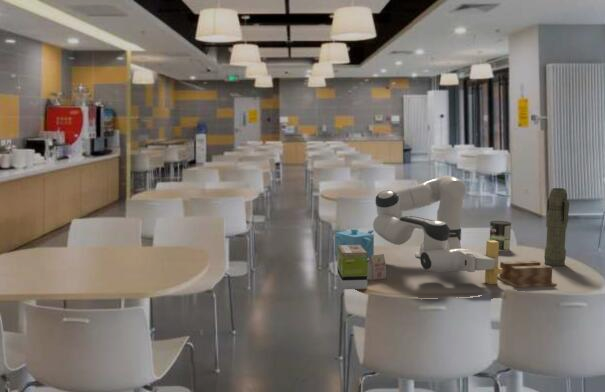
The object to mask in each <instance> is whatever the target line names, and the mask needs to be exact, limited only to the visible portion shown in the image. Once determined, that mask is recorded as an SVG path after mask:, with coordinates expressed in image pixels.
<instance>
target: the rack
mask: <svg viewBox="0 0 605 392" xmlns="http://www.w3.org/2000/svg"><path fill="white" fill-rule="evenodd" d="M499 262H500V265H499V266H500V268H502V269H503V272H502V274H498V276H497V280H499V281H502V282H503V283H506V284H507V285H509V286H512V287H514V288H529V287H551V286H552V287H553V286H558V284H557V282H554V281H552V280H553V266H549V265H546V264H544V265H543V264H542V265H541V262H540V261H538V260H522V261H517V260H516V261H499Z"/></svg>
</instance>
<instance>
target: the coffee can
mask: <svg viewBox="0 0 605 392" xmlns="http://www.w3.org/2000/svg"><path fill="white" fill-rule="evenodd" d="M489 223H490V224H489V225H490V226H489V241H493V240H495V241H497V242H499V252H508V251H509V252H510V249H511V248H510V246H511V231H512V230H511V229H512V228H511V227H512V222H510V221H505V220H491V221H490V222H489Z"/></svg>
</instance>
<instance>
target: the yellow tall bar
mask: <svg viewBox="0 0 605 392" xmlns="http://www.w3.org/2000/svg"><path fill="white" fill-rule="evenodd" d="M485 245H486V247H485V249H486V251H485V255H486V256H487V257H490V258H492V257H496V258H498V259H499V252H500V251H499V242H497V241H495V240H493V241H490V240H486V244H485ZM484 271H485V272H484V273H485V274H484V282H485V284H486V283H487V284H488V285H495V284H496V285H497V284H498V279H497V276H498V275H500V274H502V272H503V269H502V268H500V267H499V261H498V262H495V267H494V268H493V269H489V270H484Z"/></svg>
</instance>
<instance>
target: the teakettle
mask: <svg viewBox="0 0 605 392" xmlns="http://www.w3.org/2000/svg"><path fill="white" fill-rule="evenodd" d="M335 231H336V232H335V233H334V235H333V237H334V256H336V257H337V246H338V245H361V246H362V247H363V248H364V250H365V251H366V252H367V259H369V257H370V255H375V254H374V251H375V250H374V249H375V246H374V244H375V242H374V241H375V235H374V234H373V232H375V230H374V229H371V230H368V231H367V232H363V231H359V229H358V228H351V229H350V230H346V231H342V230H341V229H339V228H335Z"/></svg>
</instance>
